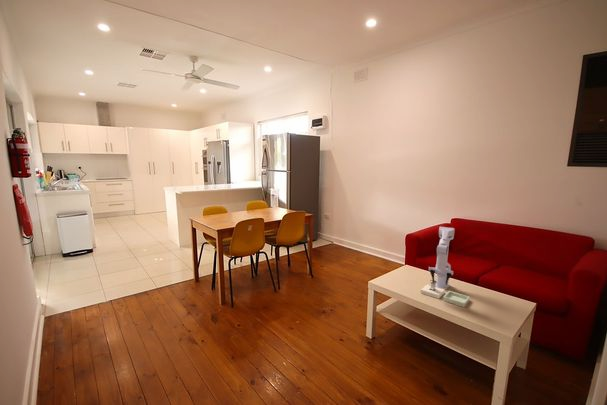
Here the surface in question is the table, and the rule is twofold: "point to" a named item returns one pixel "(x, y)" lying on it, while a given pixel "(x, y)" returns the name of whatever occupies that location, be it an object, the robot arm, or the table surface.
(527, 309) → the table surface
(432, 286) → the lock pin
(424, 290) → the lock block
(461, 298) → the pin tray
